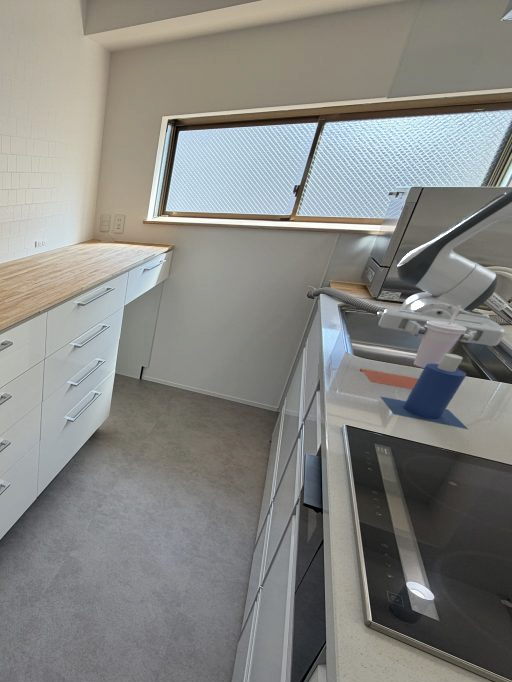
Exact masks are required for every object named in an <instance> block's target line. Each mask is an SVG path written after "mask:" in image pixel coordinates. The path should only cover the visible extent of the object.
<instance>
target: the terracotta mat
mask: <svg viewBox="0 0 512 682" xmlns="http://www.w3.org/2000/svg"><path fill="white" fill-rule="evenodd" d="M359 371H360V372H361V373H363V374H364V375H365V377H366V378H367V379H368V380H369V382H371V383H375V384H380V385H386V386H392V387H397V388H403V389H408V390H412V389H413V388H414V386H415V384H416V382H417V380H418V379H419V377H418V378H417V377H412V376H406V375H401V374H395V373H389V372H383V371H378V370H373V369H365V368H360V369H359Z"/></svg>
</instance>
